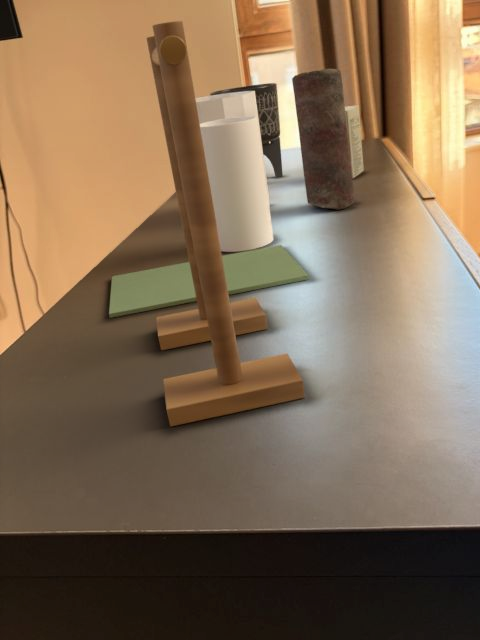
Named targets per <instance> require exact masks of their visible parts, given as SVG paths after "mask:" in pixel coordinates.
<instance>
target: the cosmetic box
mask: <svg viewBox="0 0 480 640" xmlns="http://www.w3.org/2000/svg"><path fill="white" fill-rule="evenodd" d="M345 115H346V125H347V134H348V144H349V153H350V162H351V169H352V179H355V178H356V177H357V176H359V175H360V174H362V173H363V172H364V169H365V168H364V158H363V157H364V156H363V145H362V144H363V143H362V130H361V117H360V105H359V104H357V105H347V106H345Z"/></svg>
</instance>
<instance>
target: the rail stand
mask: <svg viewBox="0 0 480 640" xmlns="http://www.w3.org/2000/svg"><path fill="white" fill-rule="evenodd" d="M152 32H153V35H152V36H147V37H146V43H147V48H148V49H147V50H148V54H149V58H150V59H149V60H150V63H151V69H152V74H153V81H154V85H155V90H156V96H157V102H158V105H159V111H160V116H161V121H162V127H163V133H164V137H165V142H166V147H167V153H168V158H169V163H170V168H171V174H172V179H173V184H174V189H175V195H176V200H177V205H178V210H179V216H180V221H181V227H182V231H183V236H184V241H185V247H186V253H187V257H188V262H189V263H190V268H191V273H192V279H193V284H194V289H195V294H196V300H197V301H196V306H197V308H196V309H191V310H186V311H180V312H175V313H171V314H165V315H161V316H156V317H155V319H156V320H155V321H156V329H157V337H158V342H159V346H160V350H161V351H166V350H171V349H176V348H181V347H185V346H190V345H191V346H192V345H195V344H201V343H206V342H211V347H212V353H213V358H214V364H215V367H214V368H210V369H206V370H205V369H204V370H200V371H195V372H191V373H187V374H182V375H177V376H172V377H171V376H170V377H167V378H163V379H162V383H163V392H164V400H165V408H166V413H167V417H168V418H167V419H168V423H169V426H170V427H176V426H181V425H184V424H189V423H193V422H199V421H203V420H204V421H205V420H208V419H213V418H217V417H221V416H227V415H231V414H235V413H241V412H245V411H251V410H254V409H258V408H263V407H267V406H273V405H277V404H281V403H287V402H291V401H296V400H300V399H305V397H306V394H305V392H306V391H305V385H304V379H303V378H302V376H301V374H300V373H299V371H298V369H297V368H296V365H295V364H294V362H293V360H292V359H291V357H290V355H289V353H288V352H287V353H282V354H277V355H273V356H268V357H263V358H259V359H254V360H253V359H252V360H248V361H244V362H241V361H240V355H239V349H238V343H237V338H236V336H239V335H240V336H241V335H246V334H249V333H254V332H255V333H256V332H260V331H265V330H268V328H269V327H268V321H267V315H266V313H265V310H264V309H263V307H262V306H261V304H260V302H259V300H258V298H257V297H252V298H246V299H242V300H236V301H232V302H230V295H228V289H227V283H226V277H225V271H224V265H223V259H222V256H223V254H222V251H221V247H220V241H219V235H218V229H217V224H216V218H215V212H214V206H213V200H212V194H211V188H210V182H209V176H208V170H207V164H206V158H205V152H204V146H203V140H202V135H201V129H200V123H199V117H198V111H197V105H196V99H195V98H196V93H195V88H194V81H193V75H192V70H191V64H190V59H189V52H188V46H187V41H186V34H185V28H184V23H183V20H176V21H167V22H161V23H156V24H153V25H152Z"/></svg>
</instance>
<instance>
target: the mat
mask: <svg viewBox="0 0 480 640" xmlns="http://www.w3.org/2000/svg"><path fill="white" fill-rule="evenodd" d="M222 259H223V265H224V271H225V277H226V283H227V289H228V295H229V296H231V295H235V294H241V293H245V292H250V291H256V290H261V289H266V288H271V287H276V286H281V285H286V284H292V283H296V282H301V281H307V280H309V279H310V278H309V274H308V273H307V272H306V271H305V270H304V269H303V268H302V266H301V265H300V264H299V263H298V262H297V260H295V259H294V258H293V256H291V254H290V253H289V252H288V251H287V249H285V247H284V246H283V245H282V244H278V245H273V246H268V247H267V246H266V247H260V248H256V249H252V250H246V251H239V252H233V253H230V254H224V255H222ZM110 283H111V284H110V295H109V308H108V316H109V318H110V319H113V318H116V317H122V316H127V315H132V314H137V313H143V312H149V311H154V310H157V309H158V310H159V309H163V308H168V307H173V306H178V305H184V304H189V303H195V302H197V300H196V294H195V289H194V284H193V279H192V273H191V268H190V263H189V261H186V262H181V263H177V264H176V263H175V264H171V265H165V266H160V267H155V268H150V269H143V270H139V271H138V270H137V271H135V272H127V273H124V274H123V273H122V274H118V275H112V276H111V282H110Z"/></svg>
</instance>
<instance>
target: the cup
mask: <svg viewBox="0 0 480 640" xmlns="http://www.w3.org/2000/svg"><path fill="white" fill-rule="evenodd" d="M200 129H201V135H202V140H203V146H204V152H205V158H206V164H207V170H208V176H209V182H210V188H211V194H212V200H213V206H214V212H215V218H216V224H217V229H218V235H219V241H220V247H221V252H226V253H240V252H245V251H250V250H256V249H261V248H264V247H265V246H268V245H269V244H271V243H272V242H273V241H274V231H273V224H272V223H273V222H272V217H271V208H270V206H269V201H270V199H269V200H268V194H269V192H268V193H267V186H268V184H267V185H266V179H267V177H266V178H265V171H266V169H265V170H264V164H265V162H264V163H263V156H264V154H263V155H262V148H261V140H260V133H259V126H258V119H257V116H244V117H235V118H227V119H221V120H215V121H210V122H205V123H201V124H200Z"/></svg>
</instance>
